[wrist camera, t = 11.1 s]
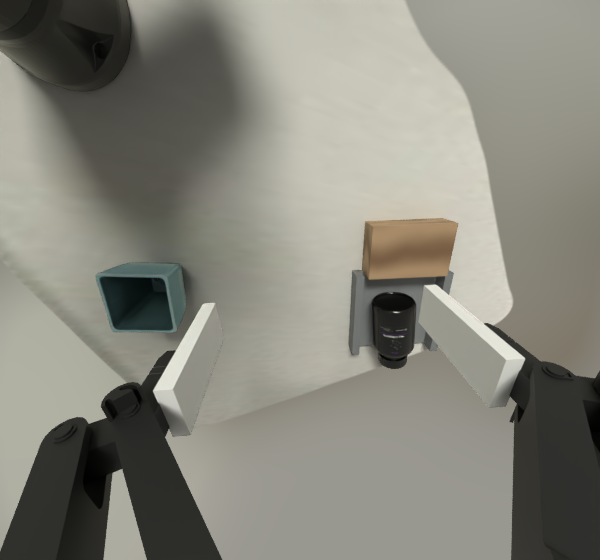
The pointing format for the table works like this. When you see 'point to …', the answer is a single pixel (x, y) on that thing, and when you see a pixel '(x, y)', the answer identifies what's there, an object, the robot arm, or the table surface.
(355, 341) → the grey tray
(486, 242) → the table surface
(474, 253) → the table surface
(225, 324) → the table surface
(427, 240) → the walnut ledge
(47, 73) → the robot arm
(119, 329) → the flower pot
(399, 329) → the supplement bottle
